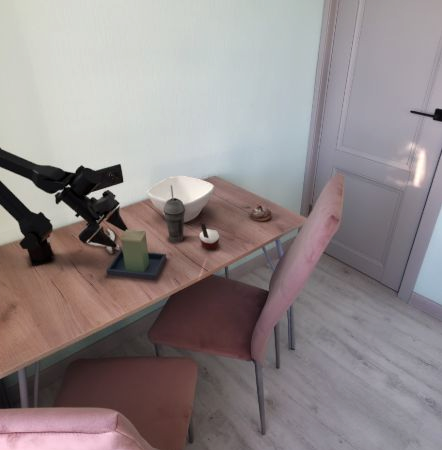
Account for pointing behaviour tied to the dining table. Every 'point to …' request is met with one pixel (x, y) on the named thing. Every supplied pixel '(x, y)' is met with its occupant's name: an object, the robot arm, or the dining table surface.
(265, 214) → the pastry
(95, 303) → the dining table surface
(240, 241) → the dining table surface
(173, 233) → the beverage cup
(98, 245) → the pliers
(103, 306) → the dining table surface
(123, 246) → the tea tin
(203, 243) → the cocoa
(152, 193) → the bowl
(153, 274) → the tray
